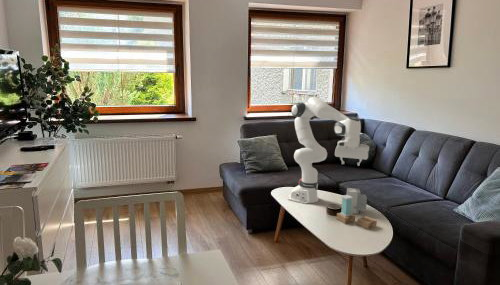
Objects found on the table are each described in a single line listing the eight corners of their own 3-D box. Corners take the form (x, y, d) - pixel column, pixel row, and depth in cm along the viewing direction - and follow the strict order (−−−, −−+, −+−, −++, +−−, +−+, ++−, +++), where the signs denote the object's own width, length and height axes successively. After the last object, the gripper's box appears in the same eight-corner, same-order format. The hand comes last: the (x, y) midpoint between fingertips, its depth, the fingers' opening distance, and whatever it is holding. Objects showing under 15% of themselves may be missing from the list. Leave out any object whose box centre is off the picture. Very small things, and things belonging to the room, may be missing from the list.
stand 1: (344, 224, 228) (345, 218, 227) (336, 219, 235) (336, 213, 234) (354, 221, 232) (355, 215, 231) (346, 217, 239) (346, 211, 238)
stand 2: (367, 229, 221) (368, 223, 220) (357, 224, 227) (357, 218, 226) (376, 226, 225) (376, 220, 224) (365, 222, 231) (366, 216, 231)
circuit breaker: (368, 214, 243) (370, 193, 240) (345, 212, 246) (347, 191, 243) (367, 210, 250) (368, 189, 247) (345, 208, 253) (346, 188, 250)
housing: (345, 216, 229) (346, 198, 227) (340, 213, 234) (341, 195, 231) (351, 215, 231) (353, 197, 229) (346, 212, 236) (347, 194, 233)
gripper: (369, 143, 228) (368, 165, 231) (336, 141, 236) (335, 161, 238) (369, 145, 223) (367, 167, 225) (334, 142, 230) (333, 164, 233)
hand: (350, 164), depth 232 cm, fingers open, 8 cm apart
